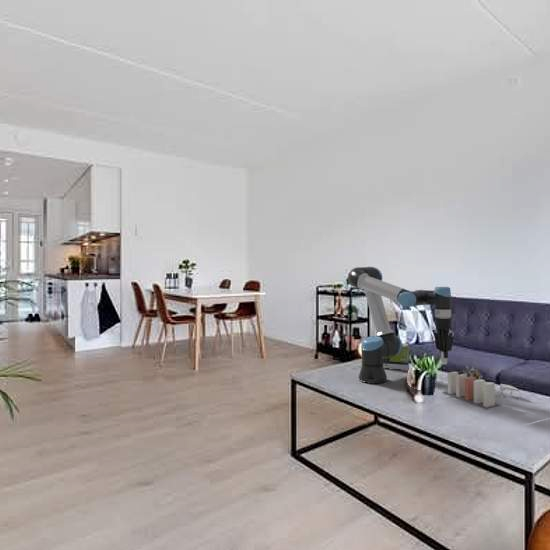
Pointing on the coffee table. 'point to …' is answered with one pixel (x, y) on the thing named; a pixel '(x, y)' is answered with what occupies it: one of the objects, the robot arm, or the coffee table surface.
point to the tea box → (398, 359)
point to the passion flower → (472, 373)
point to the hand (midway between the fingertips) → (443, 363)
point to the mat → (470, 401)
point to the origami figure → (508, 389)
